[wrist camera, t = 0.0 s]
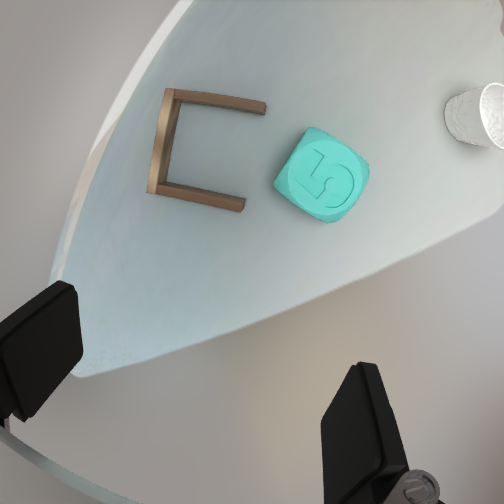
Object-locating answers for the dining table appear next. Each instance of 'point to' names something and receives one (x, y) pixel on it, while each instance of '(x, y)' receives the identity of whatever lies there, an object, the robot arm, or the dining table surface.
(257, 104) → the corral
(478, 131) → the white cup
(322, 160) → the decorative dice
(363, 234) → the dining table surface
